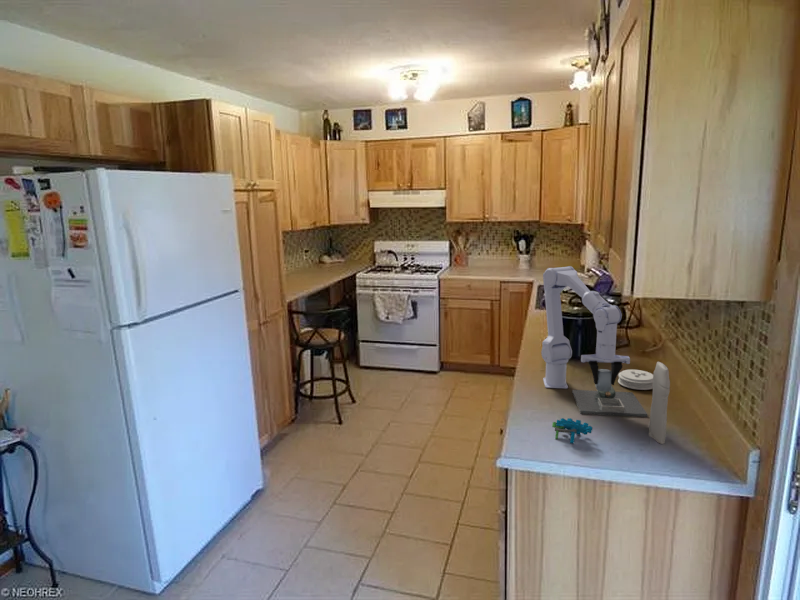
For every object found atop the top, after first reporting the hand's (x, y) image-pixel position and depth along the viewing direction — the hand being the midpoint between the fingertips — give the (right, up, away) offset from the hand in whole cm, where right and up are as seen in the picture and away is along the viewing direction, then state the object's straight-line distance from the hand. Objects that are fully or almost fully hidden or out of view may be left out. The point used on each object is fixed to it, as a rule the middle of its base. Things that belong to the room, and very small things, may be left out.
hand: (603, 383), depth 162 cm
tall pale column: (+8, -13, -18) cm, 23 cm away
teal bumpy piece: (-17, -13, -17) cm, 27 cm away
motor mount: (+3, -8, +5) cm, 10 cm away
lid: (+21, -5, +21) cm, 30 cm away
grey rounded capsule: (0, -2, 0) cm, 2 cm away
